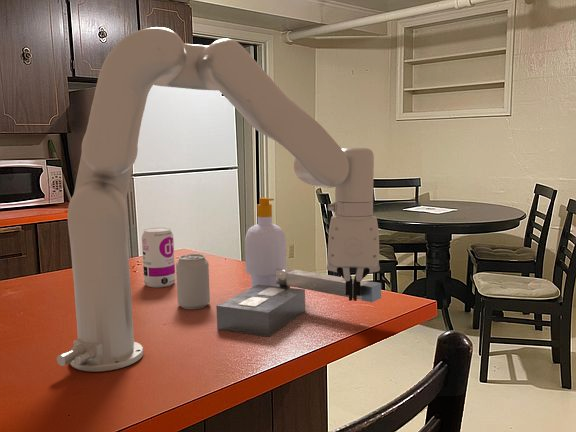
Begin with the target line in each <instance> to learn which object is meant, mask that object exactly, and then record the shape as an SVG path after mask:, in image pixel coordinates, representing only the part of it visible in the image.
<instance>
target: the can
mask: <svg viewBox="0 0 576 432" xmlns="http://www.w3.org/2000/svg"><path fill="white" fill-rule="evenodd" d="M209 265H210V263H209V261H208V260H207V259H206V255H205V254H202V253H190V254H189V253H186V254H183V255H180V256H179V257H178V260H177V262H176V263H175V276H176V290H177V291H176V292H177V294H176V295H177V305H179V306H180V307H181V308H182V309H184V310H198V309H203V308H205V307H207V305H208V304H209V303H210V301H211V298H210V293H211V292H210V272H209V271H210V269H209V267H210V266H209Z"/></svg>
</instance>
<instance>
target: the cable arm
mask: <svg viewBox="0 0 576 432" xmlns="http://www.w3.org/2000/svg"><path fill="white" fill-rule="evenodd" d="M276 284H279V285H287V286H290V288H296V289H305V290H308V291H314V292H318V293H324V294H329V295H335V296H338V297H339V296H340V297H344V298H345V297H346V298H349V296H346V281H345V280H344V278H343V277H342V276H336V275H329V274H325V273H318V272H313V271H312V272H311V271H306V270H300V269H293V268H289V267H286V268H280V269H276ZM380 299H382V283H381V282H377V281H368V280H367V281H366V280H362V281H360V296H357V300H360V301H362V302H368V303H374V302H376V301H378V300H380Z"/></svg>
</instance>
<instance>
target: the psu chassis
mask: <svg viewBox="0 0 576 432" xmlns="http://www.w3.org/2000/svg"><path fill="white" fill-rule="evenodd" d="M215 308H216V329H217V330H221V331H226V332H234V333H241V334H246V335H247V334H248V335H254V336H260V337H265V338H266V337H268V338H270V337H271V336H272V335H274V334H276V332H278V331H279V330H281V329H282V328H283V327H286V325H288V324H289V323H291V322H292V321H293V320H294V319H296V318H297V317H300V315H302V314H304V312H306V289H302V288H296V287H291V286H287V285H280V287H277V286H268V285H259V284H258V285H256V286H254V287H249V288H248V289H247V290H244V291H243V292H241V293H240V292H239V294H236V295H235V296H233V297H231V298H228V299H227V300H225V301H223V302H221V303H219V304H217V305H216V307H215Z"/></svg>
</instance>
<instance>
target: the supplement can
mask: <svg viewBox="0 0 576 432" xmlns="http://www.w3.org/2000/svg"><path fill="white" fill-rule="evenodd" d="M141 244H142V245H141V246H142V247H141V248H142V263H143V265H142V266H143V283H144V284H145V285H146V287H149V288H155V289H157V288H165V287H169V286H172V285H174V283H175V282H176V263H175V246H174V245H175V243H174V233H173V231H172V230H171V228H170V227H149V228H147V229H144V230H143V233H142V235H141Z"/></svg>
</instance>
